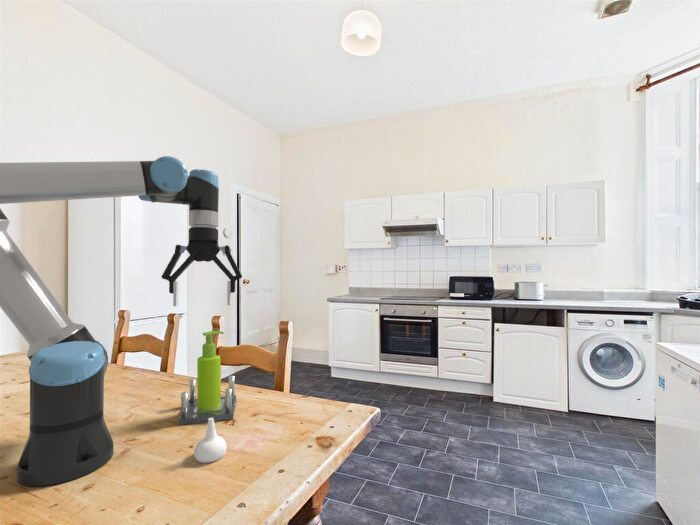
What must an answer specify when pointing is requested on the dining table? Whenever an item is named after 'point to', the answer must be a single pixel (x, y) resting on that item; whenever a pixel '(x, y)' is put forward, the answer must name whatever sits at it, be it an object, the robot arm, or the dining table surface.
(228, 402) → the display stand
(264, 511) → the dining table surface
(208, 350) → the soap dispenser
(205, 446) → the garlic bulb
